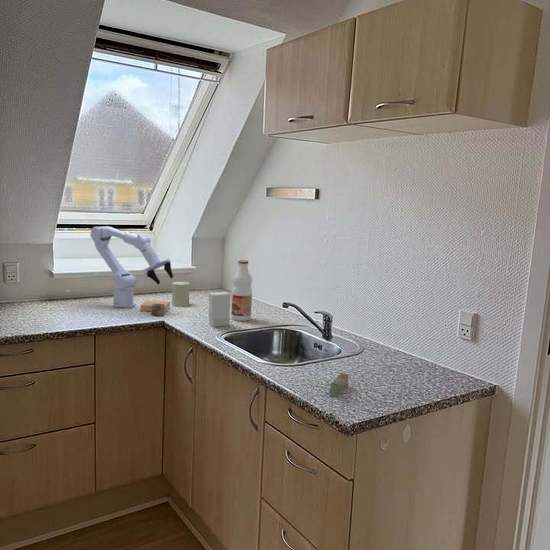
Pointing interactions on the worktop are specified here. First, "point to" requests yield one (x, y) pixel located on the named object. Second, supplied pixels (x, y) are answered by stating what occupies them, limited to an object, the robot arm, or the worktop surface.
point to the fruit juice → (241, 293)
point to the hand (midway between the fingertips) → (165, 280)
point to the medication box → (339, 385)
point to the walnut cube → (157, 309)
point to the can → (180, 293)
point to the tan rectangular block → (148, 304)
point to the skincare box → (219, 309)
